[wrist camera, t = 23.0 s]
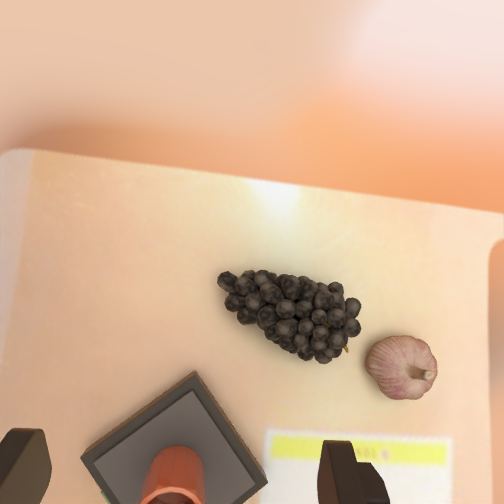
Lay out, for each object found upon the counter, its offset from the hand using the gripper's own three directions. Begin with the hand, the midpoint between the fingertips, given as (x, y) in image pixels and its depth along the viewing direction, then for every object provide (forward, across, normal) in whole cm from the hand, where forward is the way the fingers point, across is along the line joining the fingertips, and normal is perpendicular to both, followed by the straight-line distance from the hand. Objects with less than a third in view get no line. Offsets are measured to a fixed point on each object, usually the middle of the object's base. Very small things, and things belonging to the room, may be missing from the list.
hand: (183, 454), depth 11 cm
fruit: (+30, -5, +13) cm, 33 cm away
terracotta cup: (+18, +4, +25) cm, 31 cm away
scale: (+20, +5, +26) cm, 34 cm away
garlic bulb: (+28, -19, +19) cm, 39 cm away
